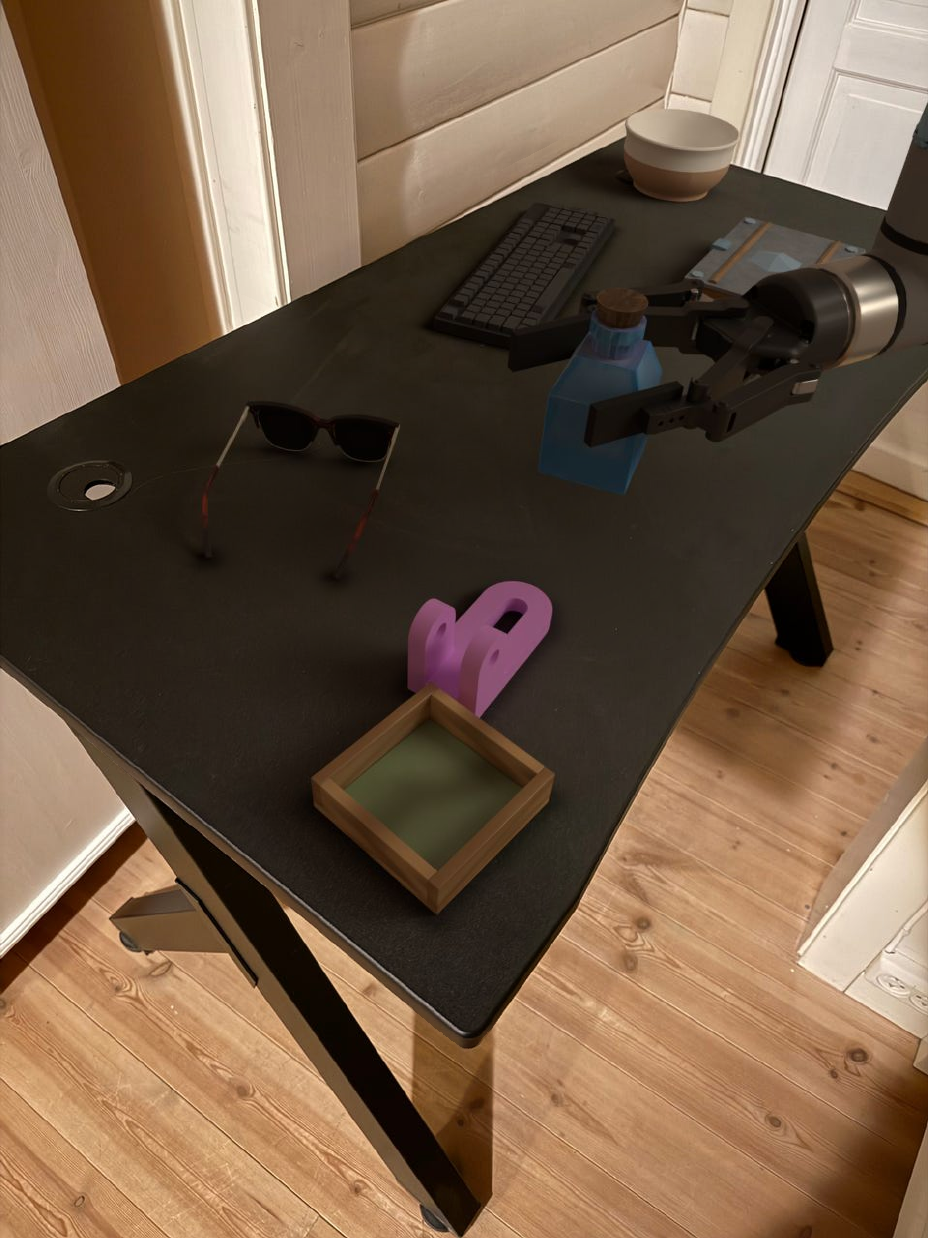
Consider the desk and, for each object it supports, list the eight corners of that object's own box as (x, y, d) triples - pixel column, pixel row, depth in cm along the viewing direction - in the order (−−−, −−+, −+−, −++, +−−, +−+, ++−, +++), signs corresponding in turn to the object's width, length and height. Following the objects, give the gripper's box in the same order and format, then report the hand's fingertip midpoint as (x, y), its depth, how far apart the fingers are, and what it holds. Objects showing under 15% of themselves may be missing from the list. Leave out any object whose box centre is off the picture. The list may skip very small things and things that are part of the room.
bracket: (474, 724, 62) (480, 657, 57) (407, 688, 64) (408, 620, 59) (562, 613, 70) (575, 546, 65) (501, 584, 72) (508, 516, 67)
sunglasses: (401, 463, 82) (400, 419, 78) (357, 593, 72) (354, 548, 68) (254, 442, 83) (246, 396, 79) (190, 566, 73) (178, 520, 69)
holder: (548, 801, 58) (555, 773, 56) (436, 915, 52) (438, 889, 50) (429, 710, 63) (430, 681, 60) (313, 806, 57) (310, 777, 55)
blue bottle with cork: (624, 495, 62) (661, 333, 53) (537, 471, 63) (560, 310, 54) (644, 447, 66) (682, 289, 57) (563, 425, 67) (587, 268, 58)
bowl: (665, 157, 139) (676, 101, 133) (748, 193, 131) (764, 134, 125) (592, 179, 132) (601, 120, 126) (676, 218, 123) (690, 156, 118)
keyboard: (533, 211, 122) (535, 196, 121) (614, 229, 120) (617, 213, 119) (432, 329, 99) (433, 312, 98) (530, 353, 97) (532, 336, 95)
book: (811, 354, 100) (827, 312, 96) (672, 310, 105) (682, 268, 101) (859, 283, 113) (875, 244, 109) (733, 247, 118) (744, 208, 114)
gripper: (903, 443, 62) (636, 532, 54) (706, 303, 75) (466, 358, 67) (952, 343, 57) (662, 426, 49) (731, 210, 69) (472, 258, 61)
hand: (549, 386), depth 58 cm, fingers closed on blue bottle with cork, 9 cm apart
